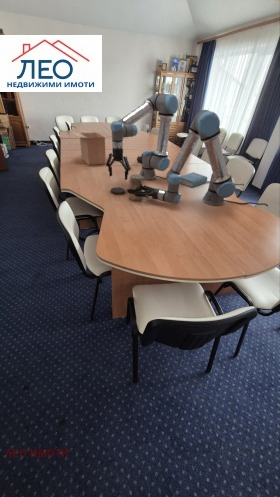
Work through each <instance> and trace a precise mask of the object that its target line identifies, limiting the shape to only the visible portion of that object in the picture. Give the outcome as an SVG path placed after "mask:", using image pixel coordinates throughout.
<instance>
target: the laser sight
mask: <svg viewBox="0 0 280 497" xmlns="http://www.w3.org/2000/svg"><path fill="white" fill-rule="evenodd" d="M142 156H143V153H141V155H140V156H139V155H137V157H136V163H140V164H142Z"/></svg>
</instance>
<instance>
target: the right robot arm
mask: <svg viewBox="0 0 280 497" xmlns="http://www.w3.org/2000/svg"><path fill="white" fill-rule="evenodd" d="M220 125H221V120H220V118H219V116H218V114H216V113H215V112H214V111H211V110H209V109H202V110H200V111H198V112H197V113H196V115H195V116H194V117H193V119H192V122H191V124H190V126H189V128H188V133H187V136H186V137H185V139H184V142H183V143H182V146H181V147H180V149H179V151H178V153H177V155H176V157H175V159H174V161H173V163H172V165H171V167H170V169H169V170H168V171H167V172H166V175H165V176H166V177H165V178H167V179H166V180H167V190H165V189H160V188H154V187H151V186H148V185H145V184H143V191H136V190H131V189H129V188H127V189H126V190H127V191H126V193H128V194H129V193H131V194H135V196H138V197H142V198H146V199H149V197H151V198H152V200H156V201H157V200H158V201H160V202H165V203H169V204H174V205H178V204H179V203H180V202H181V199H182V194H181V193H180V192H179V190H180V184H181V183H180V176H181V175H180V174H181V173H182V171H183V169H184V167H185V165H186V164H187V161H188V160H189V158H190V156H191V154H192V152H193V150H194V149H195V147H196V146H197V144H198V141H199V139H200V142H202V143H203V144H204V147H205V150H206V155H207V157H208V161H209V164H210V167H211V171H212V173H211V176H210V180H209V181H210V182H209V185H208V189H207V191H206V192H205V194H204V196H203V199H202V201H203V202H204V203H205V204H207V205H210V206H222V205H223V204H224V202H227V203H231V204H237V205H258V206H259V205H260V206H263V205H264V206H266V207H269V205H268V203H265V202H263V203H259V202H252V201H248V202H239V201H238V202H237V201H232V200H227V199H228V198H230V197H231V196H233V195H234V194H235V192H236V189H237V188H236V187H237V186H236V185H235V184H236V183H234V181H233V177H232V174H231V173H230V172H229V171H228V168H227V164H226V160H225V156H224V152H223V148H222V145H221V141H220V140H221V139H220V137H219V136H220V134H221V128H220Z"/></svg>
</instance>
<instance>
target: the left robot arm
mask: <svg viewBox="0 0 280 497" xmlns="http://www.w3.org/2000/svg"><path fill="white" fill-rule="evenodd" d="M178 110H179V99H178V96H176V95H175V94H171V93H162V92H158V93H155V94H153V95H151V96H149V97H148V98H147V99H146V100H144V101H143V103H142V104H140V105H139V106H137V108H134V109H133V110H132V111H130V112H129V113H128V114H126V115H125V116H123V117H122V118H120V119H119V120H117V121H116V120H115V121H111V123H110V131H111V136H112V137H111V145H112V148H111V151H112V153H109V154H108V158H107V161H106V164H105V166H106V167H107V170H108V172H109V177H112V176H113V167H112V166H113V164H114V163H115V162H118V163H120V164H121V166H122V167H123V169H124V181H126V180H128V176H129V172H130V171H131V170H132V168H131V166H130V162H129V160H128V156H127V155H124V138H132V137H136V136H137V135H138V127H137V125H136V123H137V122H138V121H140V120H142V119H143V118H144V117H146V116H147V115H148V114H153V113H154V112H158V116H159V122H158V123H159V125H158V133H157V139H156V140H157V141H156V148H155V149H156V150H144V151H143V152H142V154H143V156H142V155H141V156H142V163H141V169H140V172H139V175H141V176H143V180H146V181H154V180H156V178H160V179H164V180H167V178H166V177H162V176H160V175H157V174H156V170H157V171H159V172H165V171H166V170H167V169H168V168H169V166H170V163H171V160H170V158H169V157H168V156H169V153H168V151H167V150H168V145H169V136H170V131H171V123H172V119H173V118H174V117H175V114H176V113H177V111H178ZM206 183H210V180H207V182H206ZM234 184H235V186H243V187H244V186H245V184H244V183H234Z"/></svg>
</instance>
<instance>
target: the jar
mask: <svg viewBox="0 0 280 497" xmlns="http://www.w3.org/2000/svg"><path fill="white" fill-rule="evenodd" d="M143 186H144V179H143V176H141V175H140V174H138V173H137V174H130V176H129V184H128V189H131V190H136V191H144V190H143ZM128 199H129V200H131V201H135V202H136V201H138V202H139V201H141V200H142V199H143V197H138V196H135V194H131V193H128Z"/></svg>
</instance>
